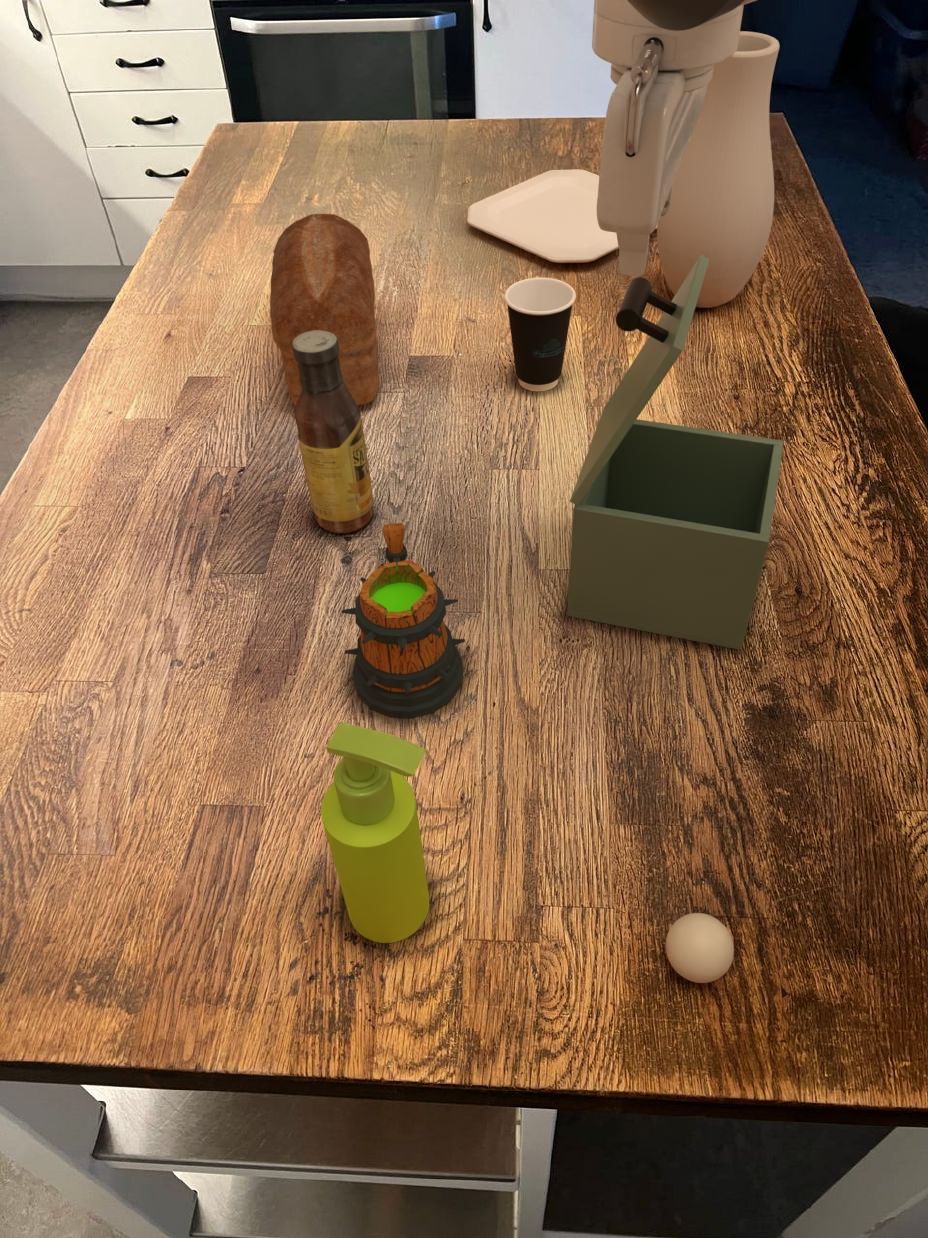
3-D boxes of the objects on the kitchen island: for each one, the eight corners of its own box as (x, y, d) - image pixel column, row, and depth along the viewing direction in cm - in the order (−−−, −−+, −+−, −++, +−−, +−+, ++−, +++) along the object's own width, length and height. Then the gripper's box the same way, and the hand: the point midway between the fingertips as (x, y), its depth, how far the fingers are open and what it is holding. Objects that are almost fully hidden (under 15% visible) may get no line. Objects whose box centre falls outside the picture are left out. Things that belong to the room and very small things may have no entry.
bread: (284, 426, 110) (259, 311, 100) (287, 305, 129) (267, 197, 119) (388, 415, 111) (375, 300, 100) (376, 296, 130) (363, 189, 119)
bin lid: (709, 258, 74) (655, 229, 74) (683, 350, 66) (621, 317, 65) (611, 412, 87) (564, 387, 87) (577, 506, 78) (525, 479, 78)
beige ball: (731, 941, 66) (742, 911, 63) (723, 1002, 63) (734, 974, 60) (667, 923, 67) (675, 893, 64) (657, 983, 64) (664, 955, 61)
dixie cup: (550, 406, 111) (553, 319, 103) (492, 387, 114) (490, 301, 106) (583, 373, 115) (588, 287, 107) (526, 355, 118) (527, 270, 110)
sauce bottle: (378, 532, 97) (354, 357, 82) (316, 540, 96) (281, 366, 82) (372, 491, 101) (348, 319, 87) (312, 499, 101) (278, 328, 86)
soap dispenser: (424, 959, 66) (398, 799, 52) (334, 928, 68) (284, 765, 53) (454, 885, 70) (438, 717, 55) (368, 857, 72) (330, 687, 57)
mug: (472, 714, 80) (467, 620, 72) (350, 726, 80) (331, 633, 72) (458, 604, 89) (452, 508, 81) (349, 614, 89) (331, 519, 81)
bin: (757, 548, 93) (784, 440, 84) (741, 650, 84) (769, 541, 75) (598, 521, 97) (607, 414, 87) (567, 616, 88) (573, 508, 78)
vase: (768, 284, 128) (821, 29, 106) (738, 333, 120) (788, 68, 98) (669, 264, 133) (700, 16, 111) (634, 311, 124) (659, 53, 103)
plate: (565, 176, 154) (565, 161, 153) (688, 222, 141) (690, 207, 140) (450, 227, 143) (449, 212, 142) (572, 282, 130) (573, 266, 129)
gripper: (694, 77, 50) (665, 318, 60) (739, -27, 64) (709, 185, 74) (576, 70, 52) (567, 306, 62) (644, -30, 65) (628, 178, 75)
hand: (645, 239), depth 68 cm, fingers open, 8 cm apart
